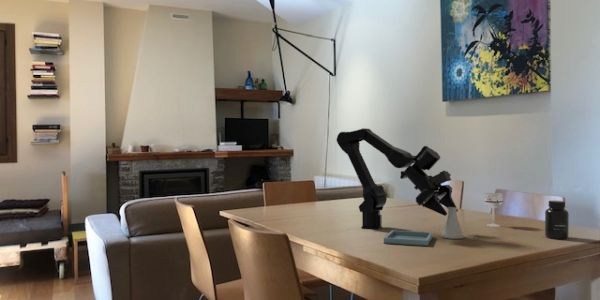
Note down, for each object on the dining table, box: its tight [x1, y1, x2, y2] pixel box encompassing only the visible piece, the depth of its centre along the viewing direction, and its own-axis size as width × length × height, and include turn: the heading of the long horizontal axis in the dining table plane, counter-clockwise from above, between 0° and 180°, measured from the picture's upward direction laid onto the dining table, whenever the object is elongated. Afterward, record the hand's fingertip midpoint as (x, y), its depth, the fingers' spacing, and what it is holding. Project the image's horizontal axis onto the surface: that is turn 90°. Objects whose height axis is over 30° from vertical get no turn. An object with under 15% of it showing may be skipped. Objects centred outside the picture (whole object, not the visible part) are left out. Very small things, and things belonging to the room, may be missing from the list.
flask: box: [441, 206, 465, 240], centre depth 157 cm, size 7×7×10 cm
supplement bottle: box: [544, 200, 570, 240], centre depth 154 cm, size 7×7×12 cm
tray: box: [383, 229, 433, 247], centre depth 153 cm, size 14×14×2 cm
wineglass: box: [483, 192, 504, 228], centre depth 177 cm, size 7×7×12 cm
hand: (451, 213), depth 157 cm, fingers open, 9 cm apart
